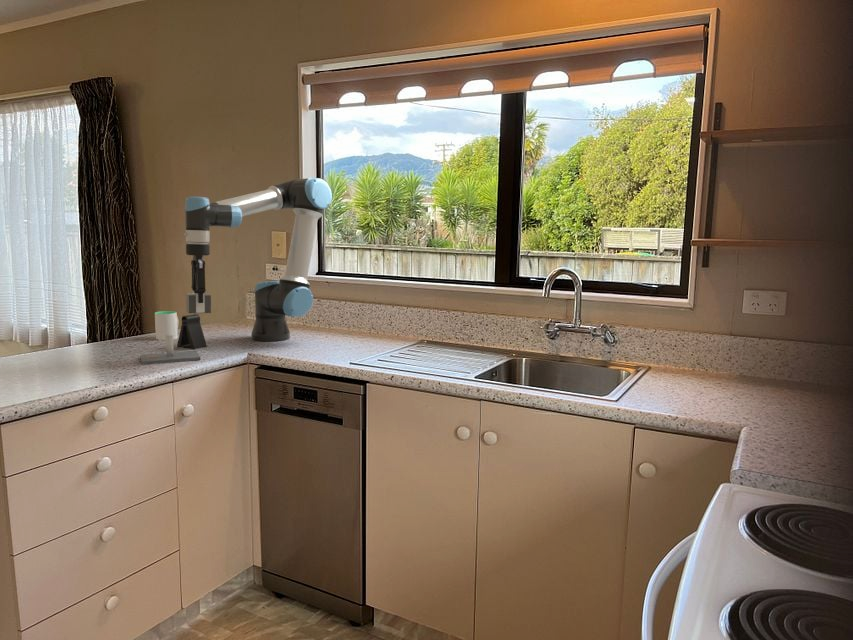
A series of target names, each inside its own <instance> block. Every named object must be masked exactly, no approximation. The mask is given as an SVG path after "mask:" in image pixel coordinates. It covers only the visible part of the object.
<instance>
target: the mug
mask: <svg viewBox="0 0 853 640" xmlns="http://www.w3.org/2000/svg"><path fill="white" fill-rule="evenodd" d="M177 313H178V312H177V311H173V310H164V311H163V310H162V311H156V312H154V322H155V323H154V326H155V327H154V328H155V340H157V339H158V340H157V341H166V335H173V340H176V339H179V333H178V329H179V328H178V327H179V324H180V323H179V317H178V314H177Z"/></svg>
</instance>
